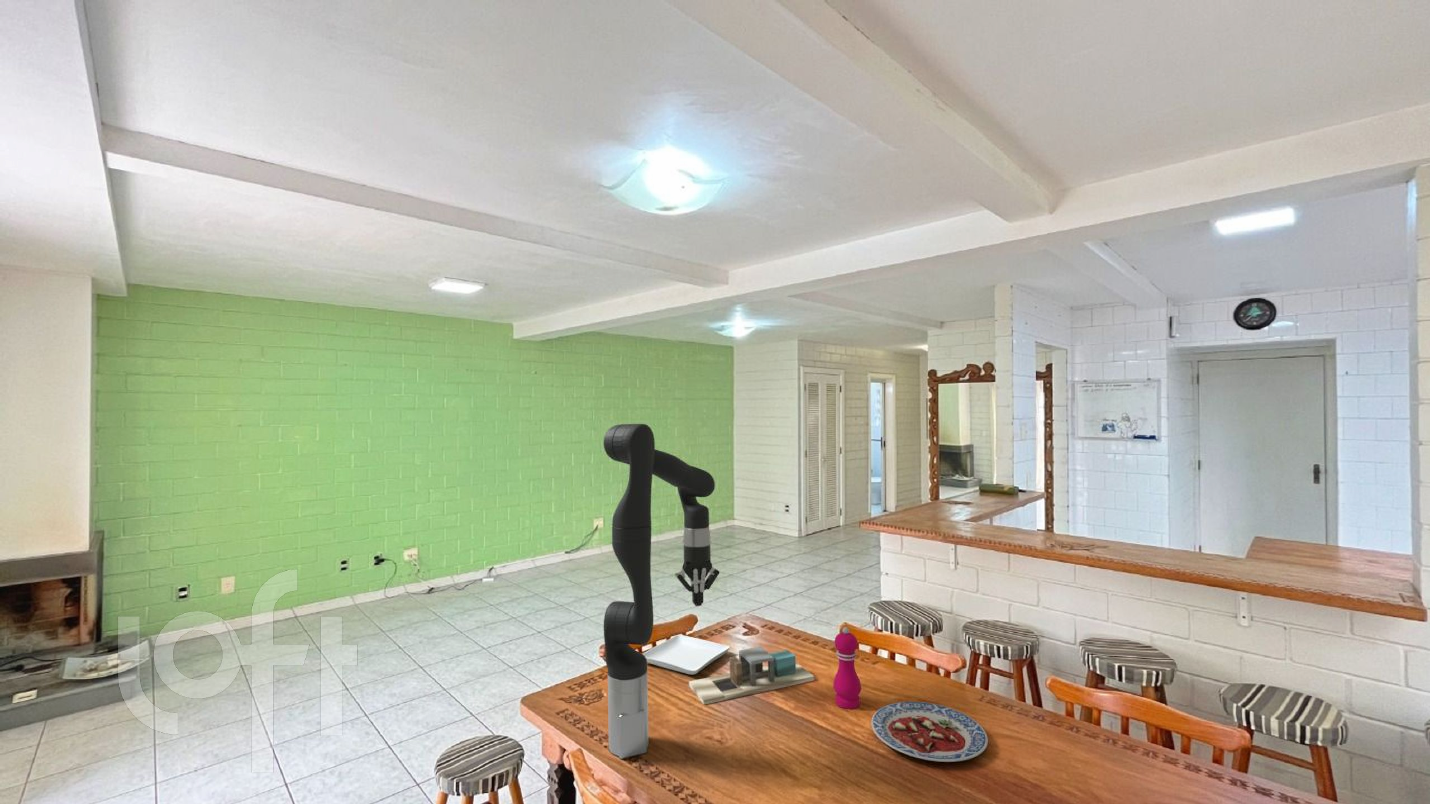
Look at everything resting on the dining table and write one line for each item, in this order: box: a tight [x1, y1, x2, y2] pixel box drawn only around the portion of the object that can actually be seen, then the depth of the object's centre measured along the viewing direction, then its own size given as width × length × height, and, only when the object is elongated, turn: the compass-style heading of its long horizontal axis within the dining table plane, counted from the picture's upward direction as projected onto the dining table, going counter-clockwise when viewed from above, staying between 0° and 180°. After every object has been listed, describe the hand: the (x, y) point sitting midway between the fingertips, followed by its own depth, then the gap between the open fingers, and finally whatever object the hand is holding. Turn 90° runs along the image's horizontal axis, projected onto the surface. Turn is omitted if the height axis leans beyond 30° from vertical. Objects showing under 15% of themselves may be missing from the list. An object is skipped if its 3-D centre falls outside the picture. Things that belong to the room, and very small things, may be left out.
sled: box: [729, 649, 797, 685], centre depth 169 cm, size 5×19×6 cm, turn 112°
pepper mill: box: [832, 626, 862, 710], centre depth 155 cm, size 7×7×20 cm
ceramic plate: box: [871, 701, 989, 763], centre depth 138 cm, size 26×26×3 cm
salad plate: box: [642, 634, 731, 676], centre depth 184 cm, size 21×21×3 cm
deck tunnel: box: [688, 646, 815, 705], centre depth 167 cm, size 12×34×8 cm, turn 112°
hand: (698, 605), depth 163 cm, fingers closed
